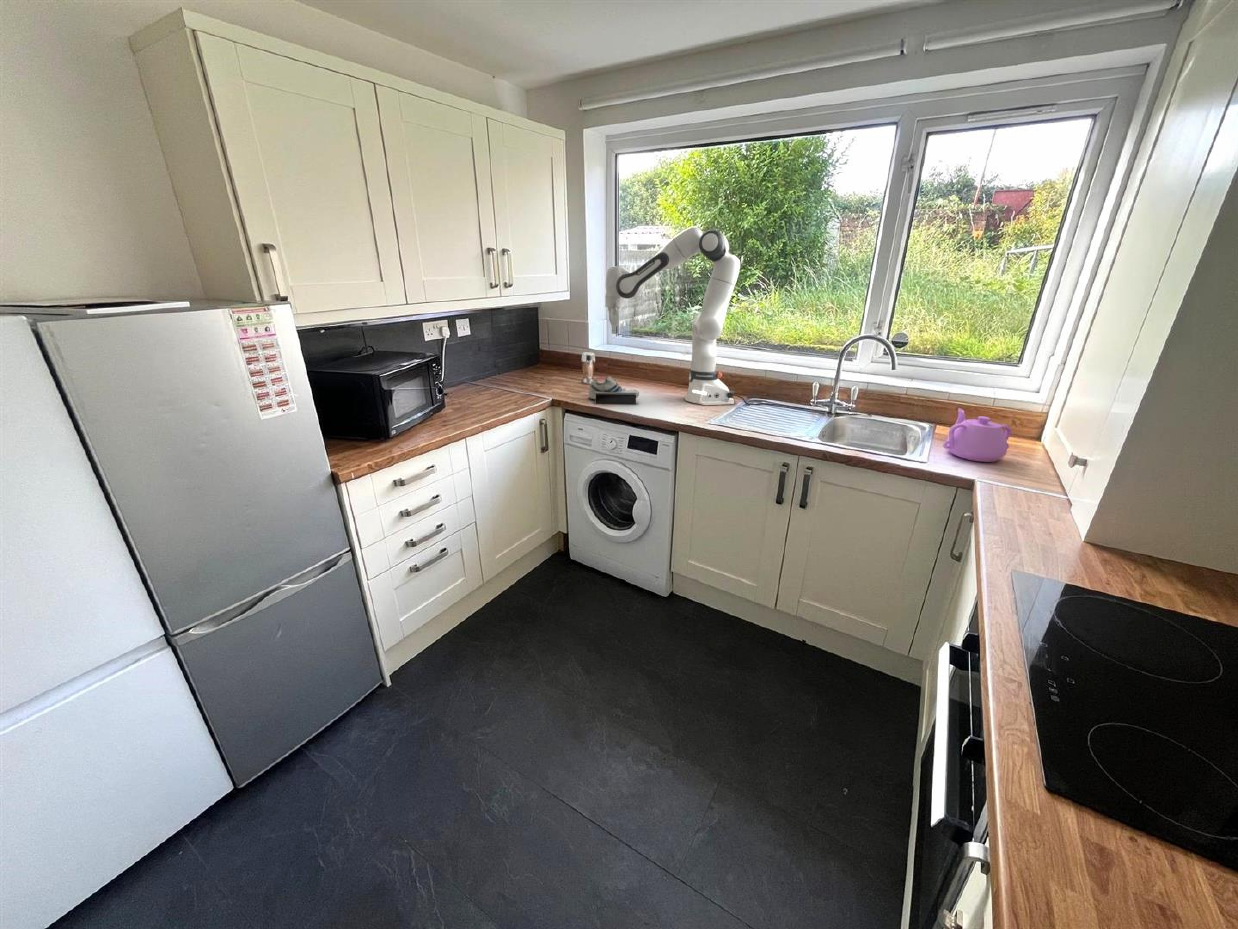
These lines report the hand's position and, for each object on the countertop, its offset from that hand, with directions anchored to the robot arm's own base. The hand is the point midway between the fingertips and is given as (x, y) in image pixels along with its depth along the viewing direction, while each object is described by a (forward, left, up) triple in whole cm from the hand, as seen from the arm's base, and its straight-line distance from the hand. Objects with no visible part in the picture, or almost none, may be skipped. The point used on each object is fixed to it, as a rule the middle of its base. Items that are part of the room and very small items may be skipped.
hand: (613, 333), depth 238 cm
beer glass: (+12, -15, -27) cm, 33 cm away
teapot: (-119, +90, -27) cm, 152 cm away
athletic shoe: (+1, +22, -27) cm, 35 cm away
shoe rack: (0, +28, -27) cm, 39 cm away
